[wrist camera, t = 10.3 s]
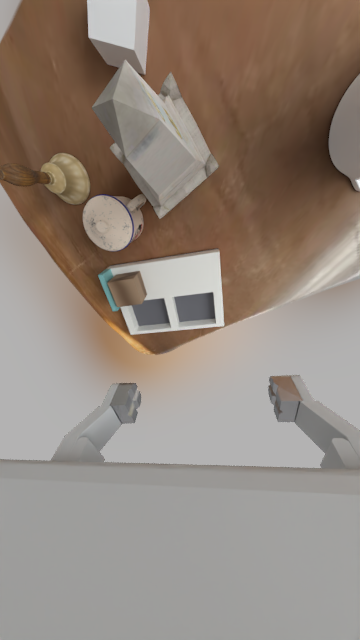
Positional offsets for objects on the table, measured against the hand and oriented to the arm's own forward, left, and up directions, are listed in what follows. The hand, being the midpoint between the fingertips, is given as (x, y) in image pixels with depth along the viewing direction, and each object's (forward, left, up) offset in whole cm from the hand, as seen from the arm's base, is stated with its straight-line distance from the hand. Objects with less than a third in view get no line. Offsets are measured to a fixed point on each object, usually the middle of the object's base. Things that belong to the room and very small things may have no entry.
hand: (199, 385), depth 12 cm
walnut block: (+17, +5, -34) cm, 38 cm away
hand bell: (+24, -17, -37) cm, 48 cm away
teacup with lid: (+14, -9, -37) cm, 41 cm away
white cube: (+7, -31, -37) cm, 49 cm away
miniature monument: (+3, -15, -37) cm, 40 cm away
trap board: (+9, +10, -37) cm, 39 cm away
